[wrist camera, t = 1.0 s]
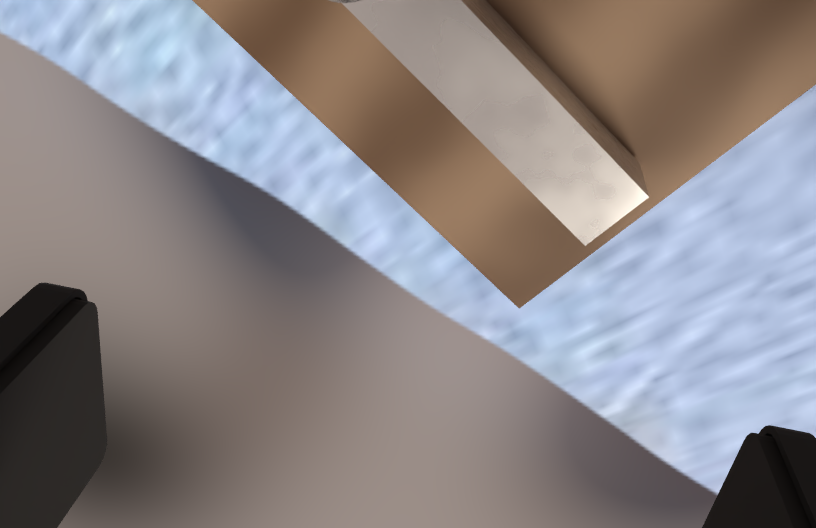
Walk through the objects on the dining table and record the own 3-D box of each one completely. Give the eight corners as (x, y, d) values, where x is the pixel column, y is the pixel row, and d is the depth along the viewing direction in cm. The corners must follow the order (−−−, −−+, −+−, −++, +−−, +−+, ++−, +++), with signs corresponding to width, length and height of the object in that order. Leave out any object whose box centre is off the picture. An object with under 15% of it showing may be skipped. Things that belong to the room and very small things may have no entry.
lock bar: (291, -68, 29) (257, -57, 26) (359, -155, 27) (331, -156, 24) (573, 216, 32) (575, 257, 29) (650, 155, 31) (661, 191, 27)
